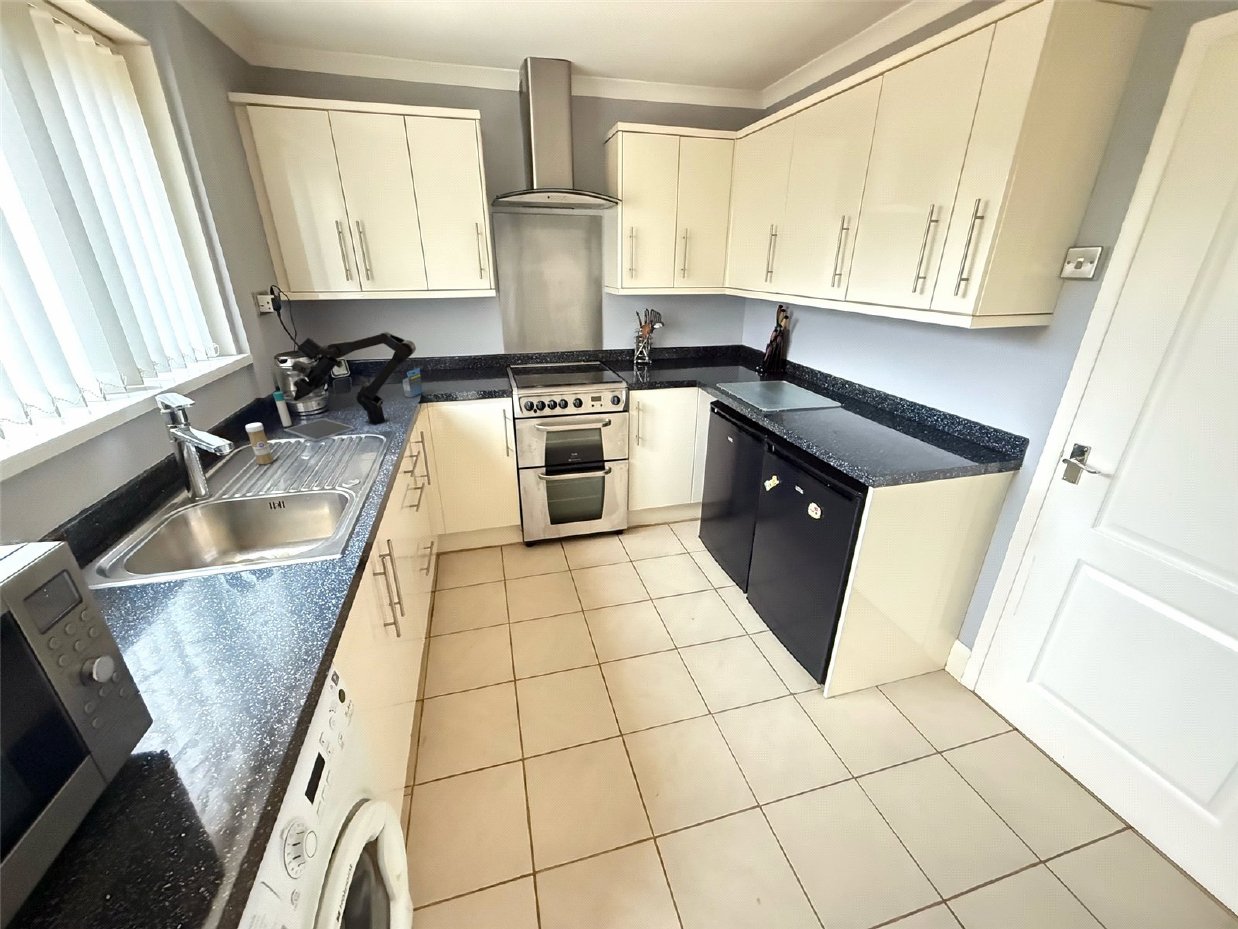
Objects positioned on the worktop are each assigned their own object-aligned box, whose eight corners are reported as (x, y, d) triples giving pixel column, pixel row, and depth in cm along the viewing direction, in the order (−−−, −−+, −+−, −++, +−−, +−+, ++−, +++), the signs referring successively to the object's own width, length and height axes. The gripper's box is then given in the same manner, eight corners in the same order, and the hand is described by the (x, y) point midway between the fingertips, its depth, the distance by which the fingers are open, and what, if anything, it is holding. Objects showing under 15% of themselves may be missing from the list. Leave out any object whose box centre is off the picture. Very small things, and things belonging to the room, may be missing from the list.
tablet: (355, 429, 194) (355, 427, 194) (315, 442, 182) (314, 439, 181) (324, 420, 204) (323, 418, 204) (283, 431, 192) (283, 429, 192)
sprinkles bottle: (262, 466, 162) (249, 427, 156) (254, 463, 164) (242, 425, 159) (276, 461, 166) (264, 423, 160) (269, 458, 168) (257, 421, 162)
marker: (294, 425, 198) (284, 392, 192) (285, 428, 195) (275, 394, 190) (289, 424, 199) (280, 391, 194) (281, 426, 197) (271, 393, 191)
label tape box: (416, 392, 243) (412, 367, 238) (423, 392, 242) (419, 368, 237) (404, 397, 235) (400, 371, 230) (412, 397, 234) (407, 372, 229)
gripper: (313, 349, 196) (290, 377, 199) (292, 358, 179) (268, 389, 182) (338, 367, 200) (316, 395, 203) (320, 379, 183) (296, 408, 186)
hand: (299, 396), depth 194 cm, fingers open, 9 cm apart
